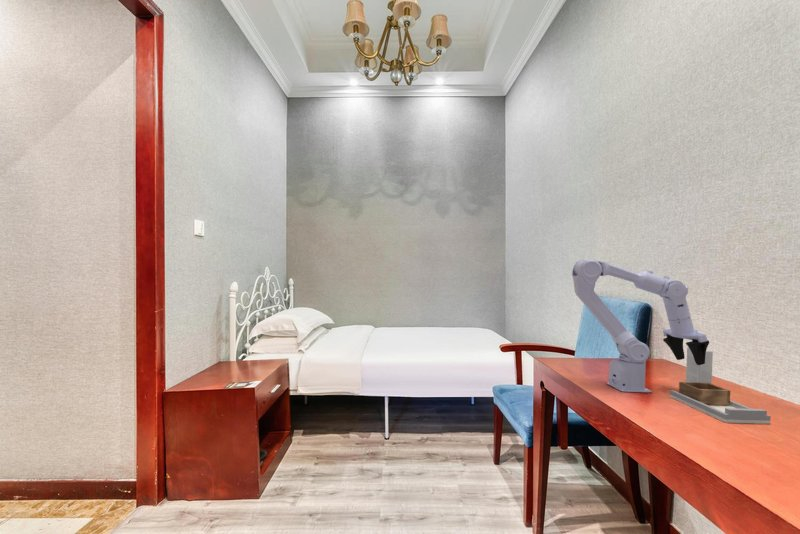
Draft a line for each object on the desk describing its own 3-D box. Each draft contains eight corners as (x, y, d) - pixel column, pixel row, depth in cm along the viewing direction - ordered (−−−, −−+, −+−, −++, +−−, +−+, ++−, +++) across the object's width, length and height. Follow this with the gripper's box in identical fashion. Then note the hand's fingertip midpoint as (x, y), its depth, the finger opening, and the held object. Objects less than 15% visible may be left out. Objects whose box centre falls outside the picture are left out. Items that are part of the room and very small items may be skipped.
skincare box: (712, 388, 120) (713, 351, 120) (698, 387, 120) (700, 351, 120) (697, 382, 126) (698, 347, 126) (684, 381, 126) (686, 346, 126)
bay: (725, 422, 92) (725, 409, 92) (670, 396, 110) (670, 386, 110) (770, 423, 92) (770, 411, 92) (707, 398, 110) (708, 387, 110)
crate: (698, 404, 101) (699, 389, 101) (678, 395, 108) (679, 381, 108) (729, 405, 102) (730, 390, 102) (707, 396, 109) (708, 382, 109)
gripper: (711, 317, 107) (724, 363, 106) (673, 313, 121) (684, 354, 121) (688, 322, 107) (700, 369, 106) (653, 318, 121) (663, 359, 120)
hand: (690, 361), depth 113 cm, fingers open, 7 cm apart
